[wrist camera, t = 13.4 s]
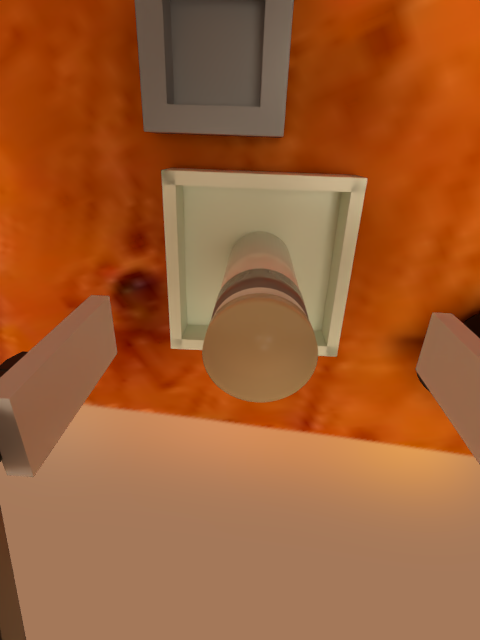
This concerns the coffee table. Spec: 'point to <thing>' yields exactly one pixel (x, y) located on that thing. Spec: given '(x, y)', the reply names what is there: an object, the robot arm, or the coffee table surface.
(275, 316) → the fuse
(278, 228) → the parts tray
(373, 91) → the coffee table surface
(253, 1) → the block
